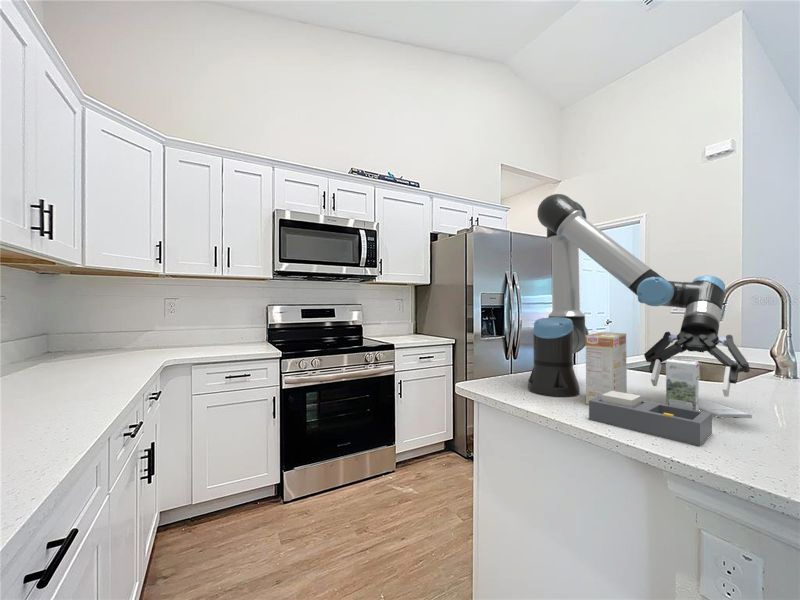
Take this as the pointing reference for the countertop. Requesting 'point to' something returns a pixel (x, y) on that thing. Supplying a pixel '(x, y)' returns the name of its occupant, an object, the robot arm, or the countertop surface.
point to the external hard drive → (721, 410)
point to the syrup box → (682, 383)
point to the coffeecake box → (605, 364)
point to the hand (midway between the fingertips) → (687, 387)
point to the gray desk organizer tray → (651, 417)
